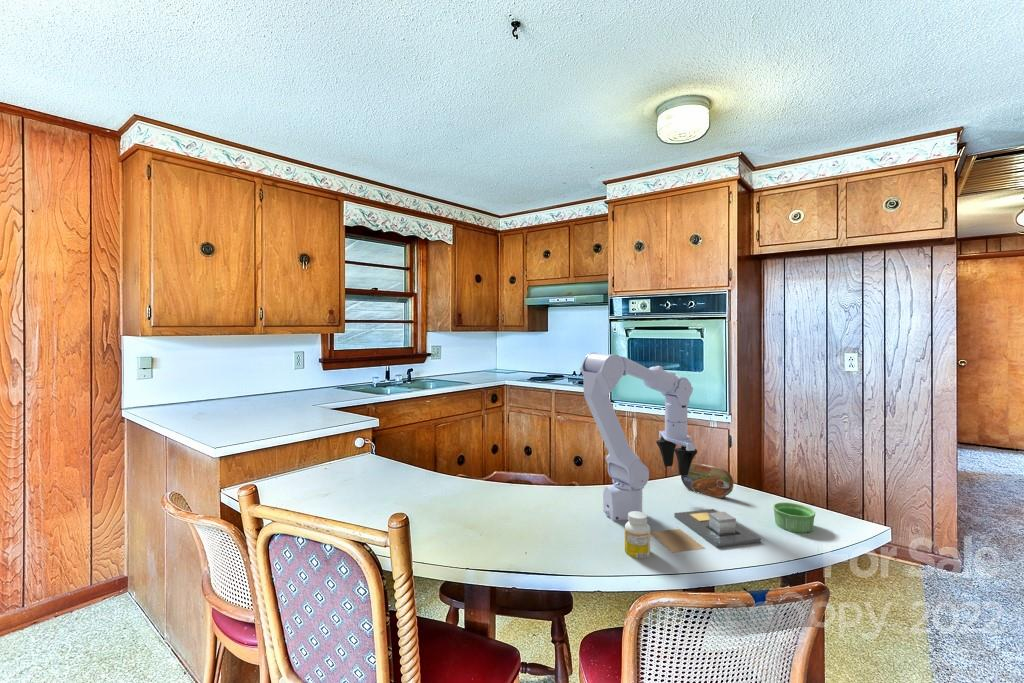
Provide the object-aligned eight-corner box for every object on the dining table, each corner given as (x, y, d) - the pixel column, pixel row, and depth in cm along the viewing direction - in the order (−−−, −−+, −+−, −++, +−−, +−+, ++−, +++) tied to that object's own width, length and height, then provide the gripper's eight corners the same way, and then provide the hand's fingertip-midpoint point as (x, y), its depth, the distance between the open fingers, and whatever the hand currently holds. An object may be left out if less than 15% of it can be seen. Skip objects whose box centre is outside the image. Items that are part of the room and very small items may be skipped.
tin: (680, 488, 145) (680, 460, 145) (685, 485, 147) (685, 458, 147) (730, 501, 134) (730, 472, 134) (734, 498, 136) (735, 469, 136)
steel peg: (719, 546, 108) (719, 520, 107) (708, 538, 112) (708, 513, 111) (735, 544, 108) (735, 518, 108) (724, 536, 112) (724, 511, 112)
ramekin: (824, 532, 114) (824, 514, 114) (791, 536, 112) (791, 517, 112) (795, 517, 123) (796, 501, 123) (764, 520, 121) (765, 503, 121)
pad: (671, 559, 102) (672, 552, 102) (648, 538, 112) (648, 532, 112) (705, 555, 104) (705, 548, 103) (679, 535, 113) (679, 528, 113)
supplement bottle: (643, 567, 99) (643, 522, 98) (620, 559, 102) (620, 515, 102) (654, 557, 103) (654, 513, 102) (631, 550, 106) (631, 507, 106)
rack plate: (716, 554, 104) (717, 542, 103) (674, 522, 120) (674, 512, 120) (760, 549, 106) (760, 537, 106) (713, 518, 122) (713, 508, 122)
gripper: (705, 425, 122) (705, 477, 123) (674, 414, 137) (674, 461, 137) (680, 426, 121) (680, 479, 121) (652, 416, 135) (652, 463, 136)
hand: (675, 470), depth 129 cm, fingers open, 7 cm apart
